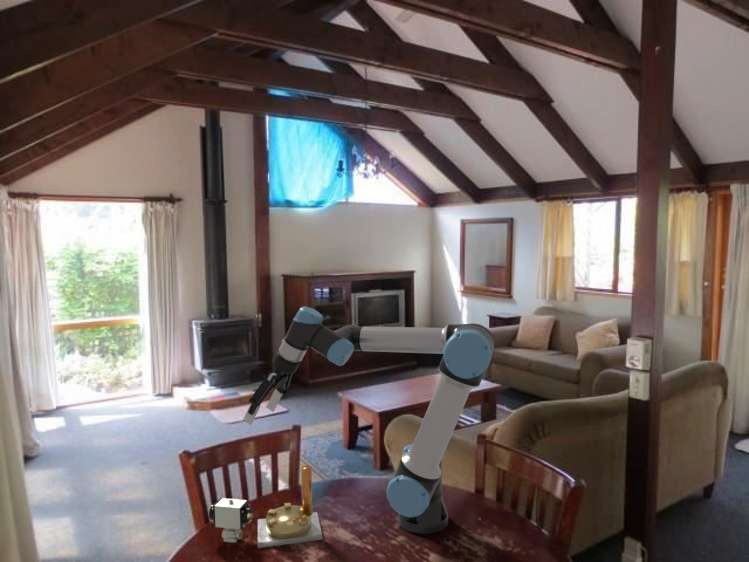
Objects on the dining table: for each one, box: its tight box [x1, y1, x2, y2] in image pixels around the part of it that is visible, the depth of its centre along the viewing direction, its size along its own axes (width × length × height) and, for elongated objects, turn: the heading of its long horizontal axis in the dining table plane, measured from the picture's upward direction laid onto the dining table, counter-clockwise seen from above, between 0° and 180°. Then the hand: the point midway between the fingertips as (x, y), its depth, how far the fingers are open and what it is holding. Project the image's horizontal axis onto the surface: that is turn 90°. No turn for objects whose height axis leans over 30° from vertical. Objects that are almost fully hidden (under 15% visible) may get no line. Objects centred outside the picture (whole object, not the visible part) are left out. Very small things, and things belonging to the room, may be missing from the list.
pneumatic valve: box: [208, 497, 255, 544], centre depth 149 cm, size 6×12×12 cm, turn 78°
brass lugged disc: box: [266, 465, 313, 538], centre depth 152 cm, size 14×13×17 cm
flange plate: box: [257, 511, 323, 549], centre depth 153 cm, size 18×13×2 cm
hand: (258, 415), depth 157 cm, fingers open, 13 cm apart
